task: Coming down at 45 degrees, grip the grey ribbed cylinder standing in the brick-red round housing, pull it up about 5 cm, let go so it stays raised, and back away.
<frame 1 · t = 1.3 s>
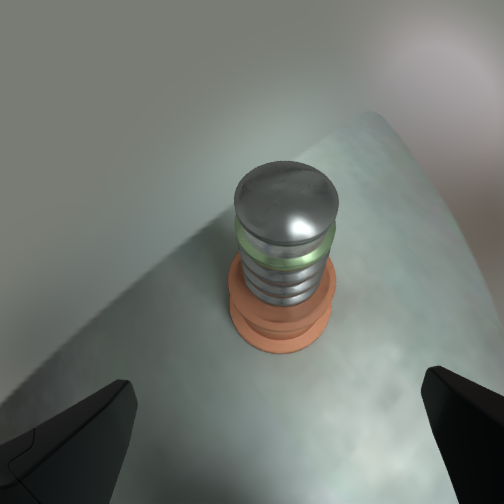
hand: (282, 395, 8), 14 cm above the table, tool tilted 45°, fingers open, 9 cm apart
housing: (280, 305, 24), on the table
grey ribbed cylinder: (284, 244, 16), point 9 cm above the table, slide at 0.0 cm
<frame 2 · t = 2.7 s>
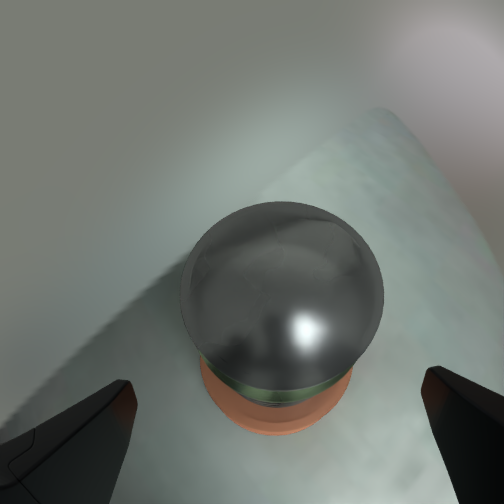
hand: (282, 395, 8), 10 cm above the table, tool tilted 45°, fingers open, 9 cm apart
housing: (275, 372, 18), on the table
grey ribbed cylinder: (279, 332, 10), point 9 cm above the table, slide at 0.0 cm
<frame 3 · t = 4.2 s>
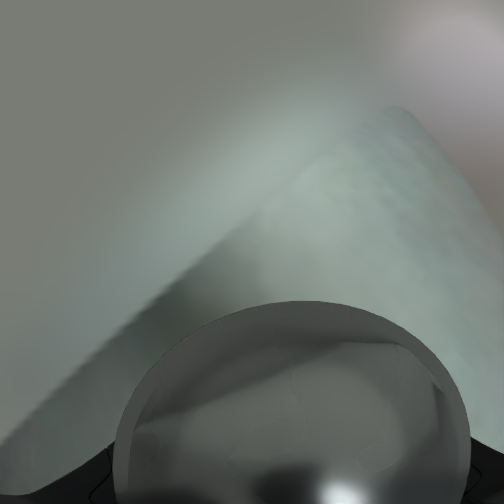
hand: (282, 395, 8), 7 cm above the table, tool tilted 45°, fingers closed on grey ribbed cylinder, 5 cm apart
grey ribbed cylinder: (286, 449, 6), point 9 cm above the table, slide at 0.0 cm, touching gripper
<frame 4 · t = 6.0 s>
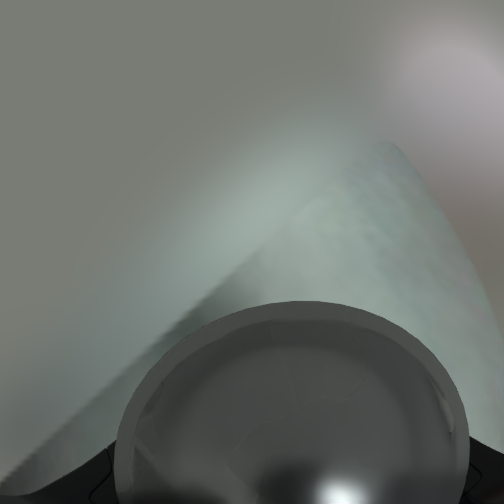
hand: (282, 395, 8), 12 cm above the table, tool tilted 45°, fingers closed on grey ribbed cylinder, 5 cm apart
grey ribbed cylinder: (286, 448, 6), point 14 cm above the table, slide at 4.9 cm, touching gripper
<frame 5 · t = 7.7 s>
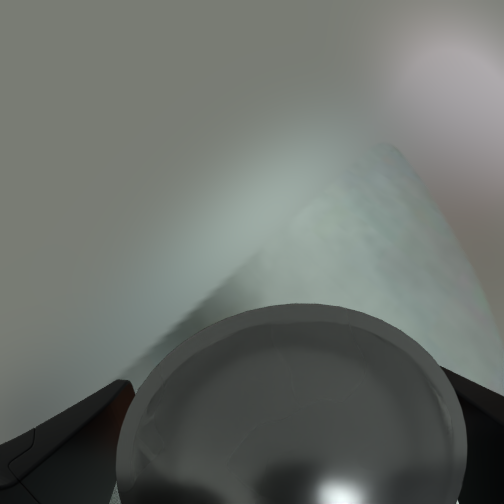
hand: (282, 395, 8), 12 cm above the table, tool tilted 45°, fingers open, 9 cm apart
grey ribbed cylinder: (285, 448, 6), point 14 cm above the table, slide at 5.0 cm
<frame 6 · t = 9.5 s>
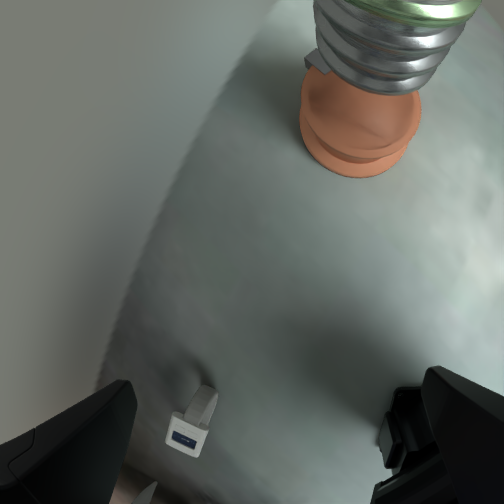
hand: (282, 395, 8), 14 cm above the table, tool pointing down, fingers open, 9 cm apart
wristwatch: (208, 403, 24), on the table
housing: (354, 124, 20), on the table
toy rocket: (182, 502, 27), on the table
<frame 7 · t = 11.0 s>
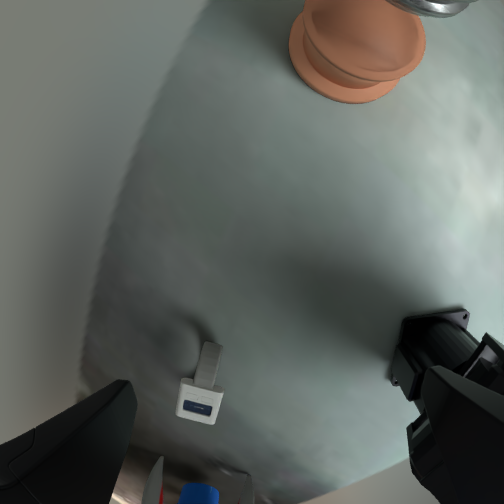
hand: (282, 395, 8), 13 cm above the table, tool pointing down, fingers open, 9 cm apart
wristwatch: (209, 361, 23), on the table
housing: (346, 51, 17), on the table
toy rocket: (192, 472, 28), on the table
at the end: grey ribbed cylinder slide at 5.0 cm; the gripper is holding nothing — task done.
